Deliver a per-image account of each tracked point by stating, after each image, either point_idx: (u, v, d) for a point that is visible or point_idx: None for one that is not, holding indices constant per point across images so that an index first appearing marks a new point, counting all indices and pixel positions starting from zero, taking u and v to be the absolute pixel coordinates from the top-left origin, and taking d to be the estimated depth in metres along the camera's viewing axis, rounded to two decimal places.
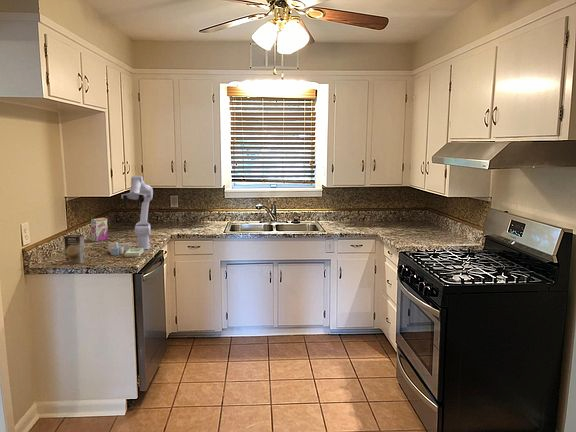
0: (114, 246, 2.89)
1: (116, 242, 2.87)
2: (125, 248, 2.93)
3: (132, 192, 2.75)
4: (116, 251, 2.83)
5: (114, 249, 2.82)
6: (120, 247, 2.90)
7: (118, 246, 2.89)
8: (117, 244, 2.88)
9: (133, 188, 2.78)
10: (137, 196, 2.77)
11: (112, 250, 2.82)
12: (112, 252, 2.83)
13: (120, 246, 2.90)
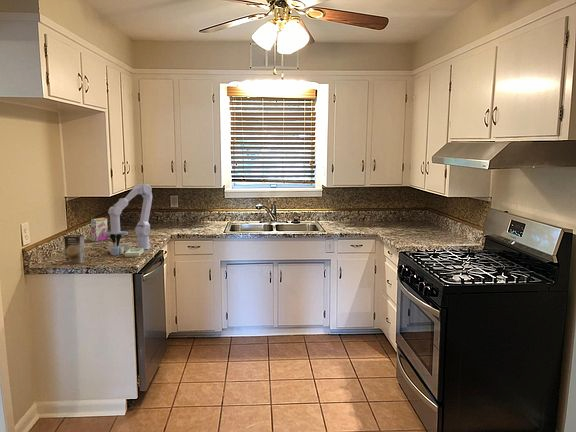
0: (114, 246, 2.89)
1: (116, 242, 2.86)
2: (125, 248, 2.93)
3: (113, 233, 2.83)
4: (116, 251, 2.83)
5: (114, 249, 2.82)
6: (120, 247, 2.89)
7: (118, 246, 2.89)
8: None
9: (113, 227, 2.83)
10: None
11: (112, 250, 2.82)
12: (112, 252, 2.82)
13: (120, 246, 2.89)
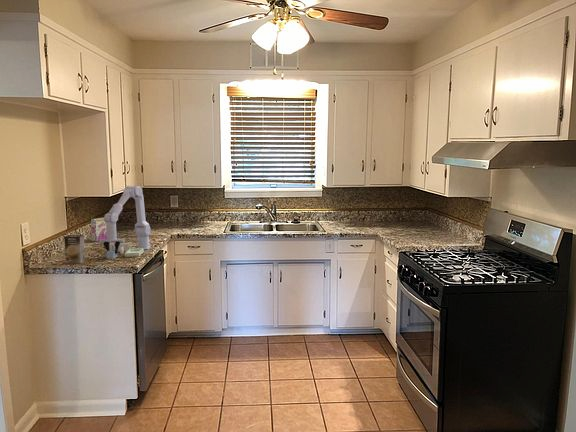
0: None
1: (111, 245, 2.76)
2: (125, 248, 2.93)
3: None
4: (111, 254, 2.72)
5: (109, 252, 2.72)
6: None
7: (114, 249, 2.78)
8: (113, 247, 2.77)
9: (109, 234, 2.74)
10: None
11: (107, 253, 2.72)
12: (107, 255, 2.72)
13: None
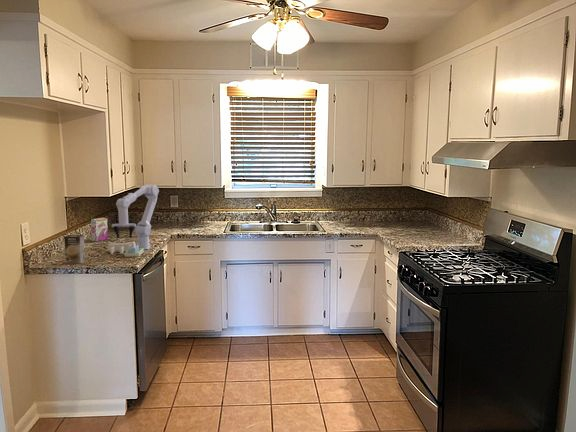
0: (131, 246, 2.85)
1: (133, 242, 2.83)
2: (125, 248, 2.93)
3: (122, 225, 2.84)
4: (134, 251, 2.79)
5: (132, 249, 2.79)
6: (137, 247, 2.86)
7: (135, 246, 2.85)
8: (134, 244, 2.84)
9: (121, 219, 2.84)
10: None
11: (130, 250, 2.79)
12: (130, 252, 2.79)
13: (137, 246, 2.86)
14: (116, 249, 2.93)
